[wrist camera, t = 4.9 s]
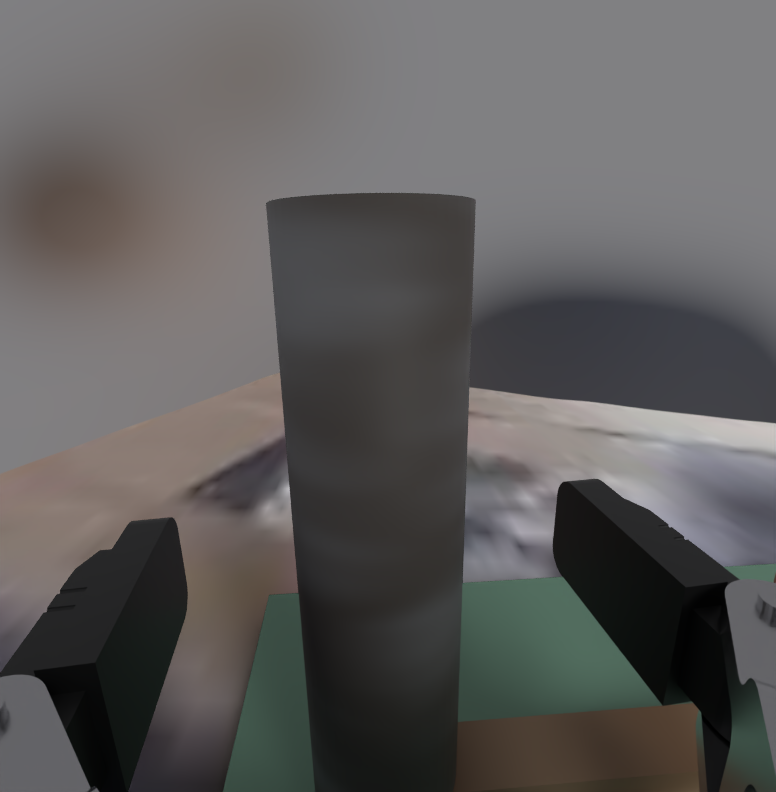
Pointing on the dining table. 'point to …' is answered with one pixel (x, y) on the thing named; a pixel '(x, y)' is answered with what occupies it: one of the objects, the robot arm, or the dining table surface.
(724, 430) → the dining table surface
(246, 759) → the board
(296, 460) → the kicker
